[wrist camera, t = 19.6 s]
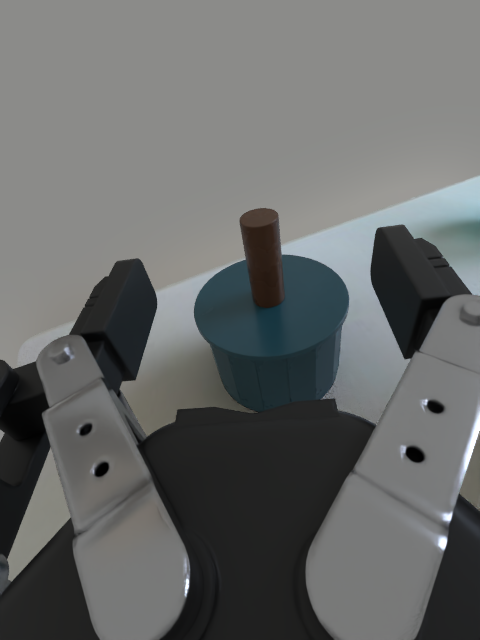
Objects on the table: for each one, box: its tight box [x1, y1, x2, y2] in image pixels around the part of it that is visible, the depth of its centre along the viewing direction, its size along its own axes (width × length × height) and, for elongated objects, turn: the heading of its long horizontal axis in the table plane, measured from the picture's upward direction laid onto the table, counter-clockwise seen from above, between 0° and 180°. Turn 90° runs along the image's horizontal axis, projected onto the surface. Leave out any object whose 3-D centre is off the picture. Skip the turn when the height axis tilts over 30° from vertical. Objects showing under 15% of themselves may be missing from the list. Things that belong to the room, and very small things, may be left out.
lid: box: [194, 208, 349, 361], centre depth 25 cm, size 12×12×8 cm
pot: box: [210, 326, 342, 412], centre depth 30 cm, size 11×11×8 cm
